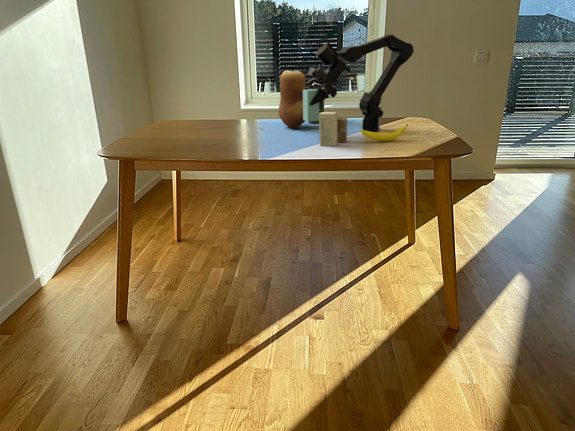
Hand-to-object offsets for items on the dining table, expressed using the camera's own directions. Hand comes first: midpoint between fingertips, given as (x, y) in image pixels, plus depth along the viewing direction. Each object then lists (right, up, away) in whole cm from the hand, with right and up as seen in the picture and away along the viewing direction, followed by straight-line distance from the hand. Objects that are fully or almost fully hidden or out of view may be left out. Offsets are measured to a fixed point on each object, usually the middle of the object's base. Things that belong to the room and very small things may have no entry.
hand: (307, 104), depth 170 cm
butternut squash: (-6, -4, +25) cm, 26 cm away
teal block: (+1, -6, +3) cm, 7 cm away
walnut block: (+13, -16, -3) cm, 21 cm away
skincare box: (+8, -18, -7) cm, 21 cm away
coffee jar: (+6, +1, +35) cm, 36 cm away
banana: (+29, -16, -5) cm, 34 cm away
